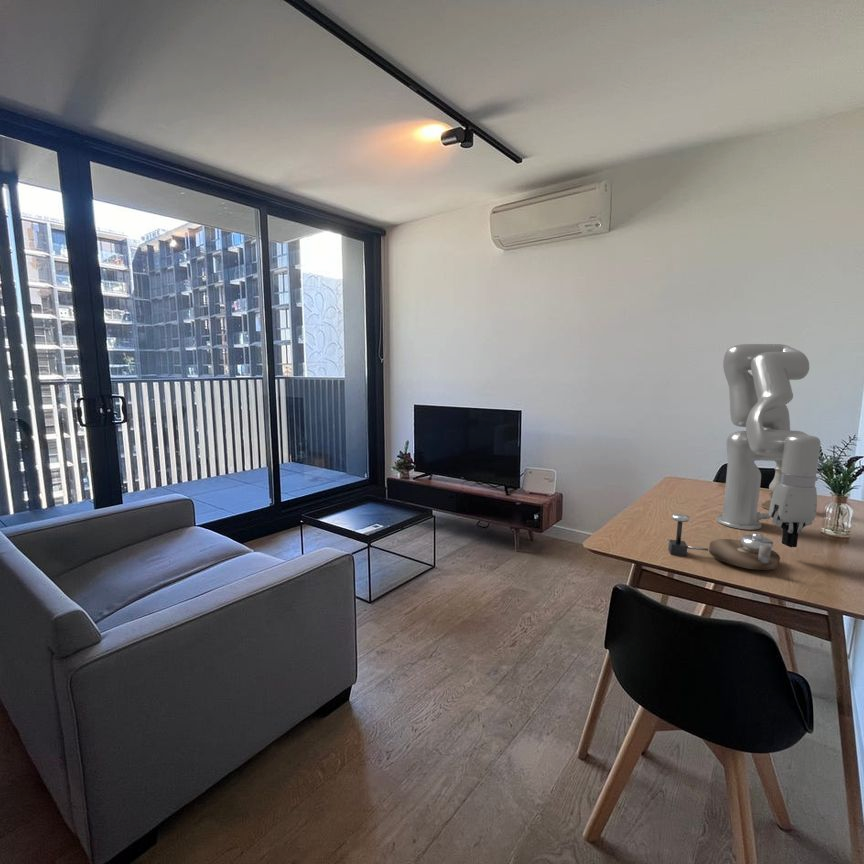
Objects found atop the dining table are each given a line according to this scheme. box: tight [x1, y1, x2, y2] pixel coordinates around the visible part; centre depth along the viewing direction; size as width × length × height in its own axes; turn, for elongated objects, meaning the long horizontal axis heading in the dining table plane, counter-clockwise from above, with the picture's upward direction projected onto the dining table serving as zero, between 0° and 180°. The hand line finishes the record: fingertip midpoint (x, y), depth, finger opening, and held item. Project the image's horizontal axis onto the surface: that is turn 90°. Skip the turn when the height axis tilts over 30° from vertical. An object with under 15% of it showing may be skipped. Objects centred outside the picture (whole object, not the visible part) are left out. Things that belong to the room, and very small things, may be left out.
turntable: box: [708, 538, 781, 571], centre depth 126 cm, size 16×16×6 cm
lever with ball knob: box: [667, 512, 709, 558], centre depth 130 cm, size 10×4×11 cm, turn 72°
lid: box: [740, 532, 774, 555], centre depth 127 cm, size 7×7×4 cm
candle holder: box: [761, 461, 782, 511], centre depth 171 cm, size 9×9×20 cm
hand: (788, 545), depth 127 cm, fingers closed
